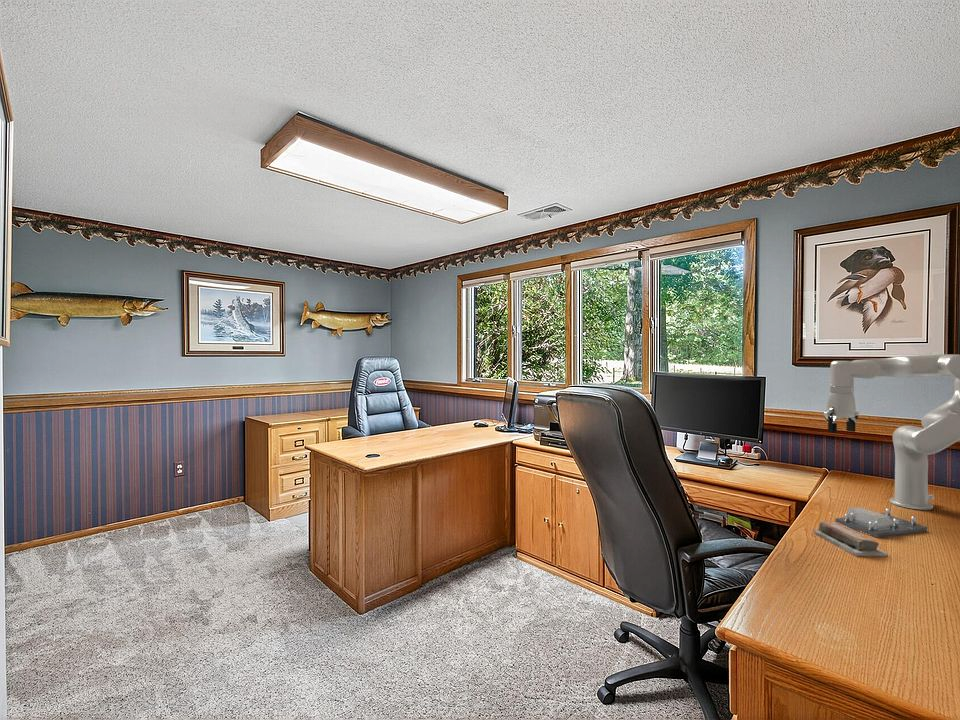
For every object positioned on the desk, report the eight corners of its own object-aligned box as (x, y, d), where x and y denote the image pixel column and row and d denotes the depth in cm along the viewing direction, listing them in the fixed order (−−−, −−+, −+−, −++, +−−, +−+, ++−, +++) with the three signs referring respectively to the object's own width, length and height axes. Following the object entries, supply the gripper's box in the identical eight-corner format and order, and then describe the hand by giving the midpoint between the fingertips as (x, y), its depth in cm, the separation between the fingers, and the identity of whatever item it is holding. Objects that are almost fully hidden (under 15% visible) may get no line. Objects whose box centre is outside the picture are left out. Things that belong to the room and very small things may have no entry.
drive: (858, 517, 164) (859, 506, 163) (890, 528, 154) (890, 516, 154) (847, 519, 162) (847, 508, 162) (877, 530, 152) (878, 517, 152)
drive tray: (882, 516, 169) (882, 506, 169) (927, 531, 155) (927, 519, 155) (835, 522, 163) (835, 511, 163) (877, 538, 150) (877, 525, 150)
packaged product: (812, 519, 155) (841, 519, 155) (812, 533, 155) (841, 533, 155) (855, 541, 137) (888, 541, 137) (855, 557, 137) (888, 557, 137)
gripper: (848, 389, 193) (848, 429, 193) (816, 390, 189) (816, 431, 189) (867, 390, 186) (867, 432, 186) (834, 392, 182) (834, 434, 182)
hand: (841, 431), depth 188 cm, fingers open, 9 cm apart
